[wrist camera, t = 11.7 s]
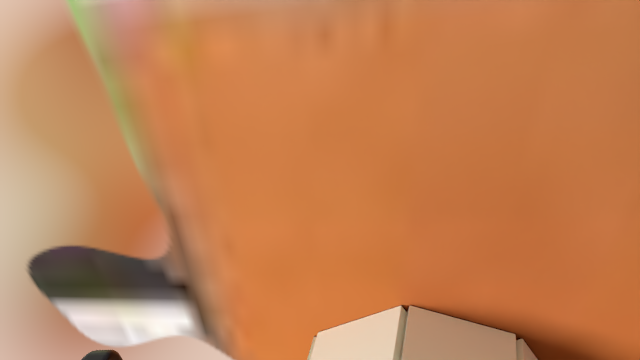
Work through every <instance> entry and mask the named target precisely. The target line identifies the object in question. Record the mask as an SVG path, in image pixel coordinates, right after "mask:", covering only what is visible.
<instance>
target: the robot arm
mask: <svg viewBox="0 0 640 360" xmlns="http://www.w3.org/2000/svg"><path fill="white" fill-rule="evenodd" d="M82 360H122V358H121V356H120V355H119V353H118V352H116V351H114V350H96V351H92V352H90V353H88V354H87V355H86V356H85V357H84V358H83V359H82Z"/></svg>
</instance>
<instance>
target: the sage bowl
mask: <svg viewBox="0 0 640 360" xmlns="http://www.w3.org/2000/svg"><path fill="white" fill-rule="evenodd" d="M307 360H538V359H537V358H536V357H535V355H534V354H533V353H532V351H531V350H530V348H529V347H528V346H527V344H526V343H525V341H524V340H523V339H519V340H516V334H513V333H509V332H506V331H502V330H498V329H495V328H491V327H487V326H484V325H480V324H476V323H473V322H469V321H465V320H462V319H458V318H454V317H451V316H447V315H443V314H440V313H436V312H432V311H429V310H425V309H421V308H418V307H414V306H409V309H408V312H406V311H405V309H404V308H403V307H402V306H398V307H395V308H392V309H389V310H386V311H382V312H379V313H376V314H373V315H370V316H367V317H364V318H361V319H358V320H355V321H352V322H349V323H346V324H343V325H340V326H336V327H333V328H330V329H327V330H324V331H321V332H318V334H317V337H315V336H314V338H313V342H312V345H311V348H310V352H309V355H308V359H307Z"/></svg>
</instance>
